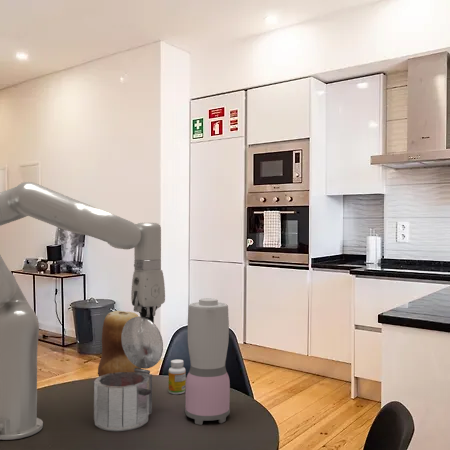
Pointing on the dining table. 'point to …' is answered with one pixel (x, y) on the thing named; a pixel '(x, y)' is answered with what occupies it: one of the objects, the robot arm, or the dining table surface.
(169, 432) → the dining table surface
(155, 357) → the lid
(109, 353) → the butternut squash
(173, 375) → the supplement bottle
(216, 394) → the blender
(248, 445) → the dining table surface
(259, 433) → the dining table surface
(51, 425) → the dining table surface
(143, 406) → the pot
